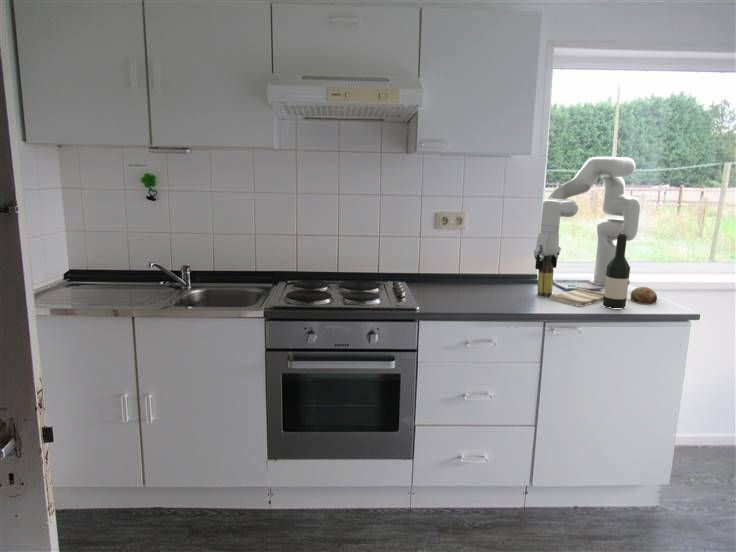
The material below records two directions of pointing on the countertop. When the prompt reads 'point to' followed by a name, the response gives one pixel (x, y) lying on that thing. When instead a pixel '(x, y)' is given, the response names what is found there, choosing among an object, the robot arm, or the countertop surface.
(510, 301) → the countertop surface
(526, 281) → the countertop surface
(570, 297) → the board
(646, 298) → the bread roll
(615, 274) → the wine bottle
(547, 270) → the sauce bottle
